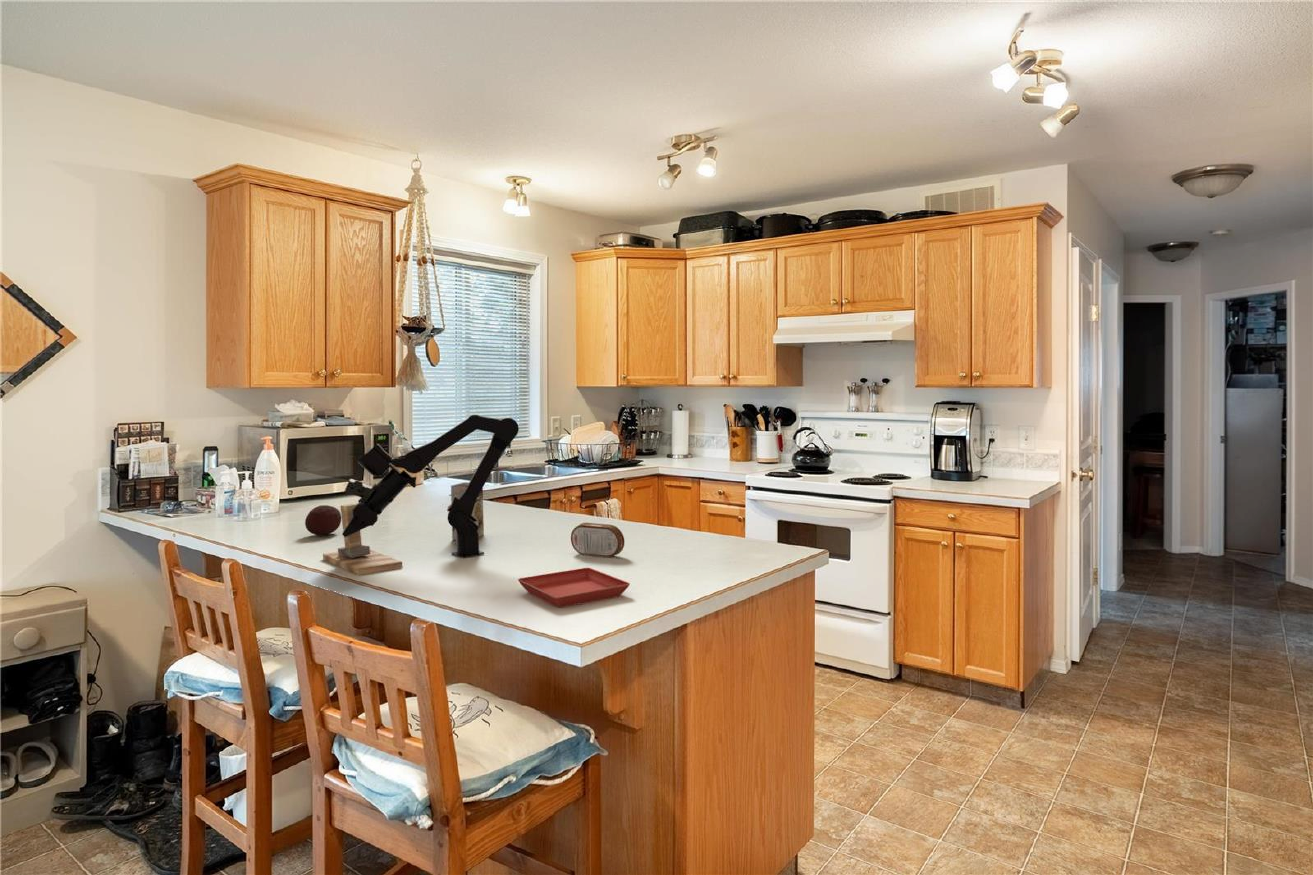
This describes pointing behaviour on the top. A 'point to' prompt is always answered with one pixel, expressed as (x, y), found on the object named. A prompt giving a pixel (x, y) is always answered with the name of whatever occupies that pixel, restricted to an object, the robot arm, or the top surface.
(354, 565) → the board
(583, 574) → the plant saucer
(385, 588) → the top surface
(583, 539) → the tin
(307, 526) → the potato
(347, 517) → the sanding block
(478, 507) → the coffee box
